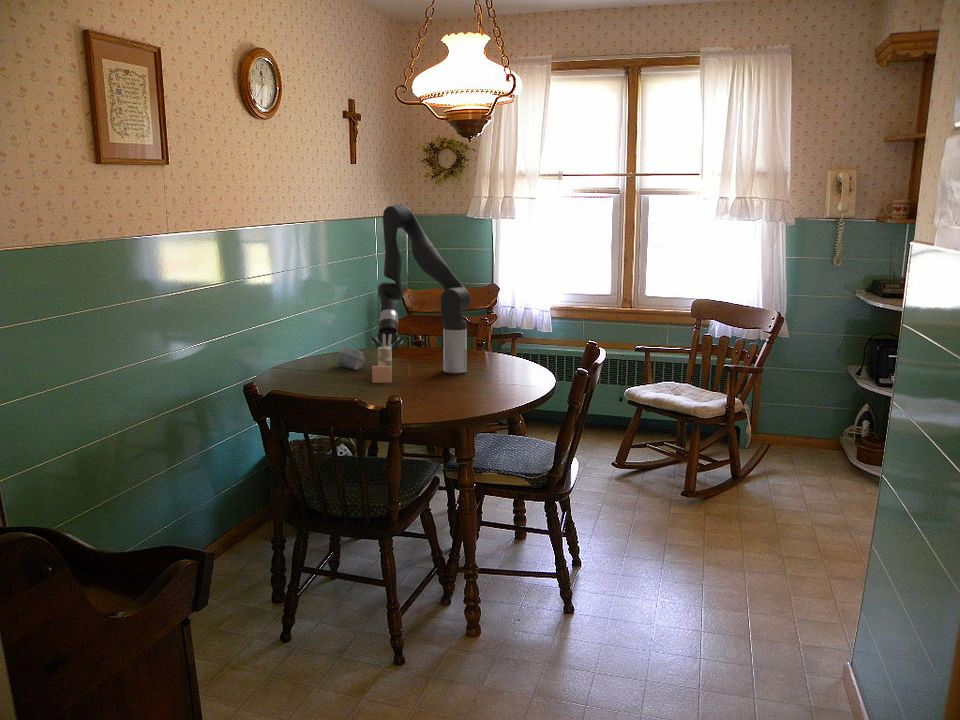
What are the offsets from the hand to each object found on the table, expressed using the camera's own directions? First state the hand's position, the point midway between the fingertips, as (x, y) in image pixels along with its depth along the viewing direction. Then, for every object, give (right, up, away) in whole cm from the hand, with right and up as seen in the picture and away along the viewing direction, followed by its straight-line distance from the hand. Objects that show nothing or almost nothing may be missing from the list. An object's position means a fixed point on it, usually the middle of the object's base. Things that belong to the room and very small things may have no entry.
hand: (386, 358), depth 302 cm
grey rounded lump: (-15, -4, +8) cm, 18 cm away
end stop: (0, -9, -15) cm, 18 cm away
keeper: (0, -6, -4) cm, 7 cm away
